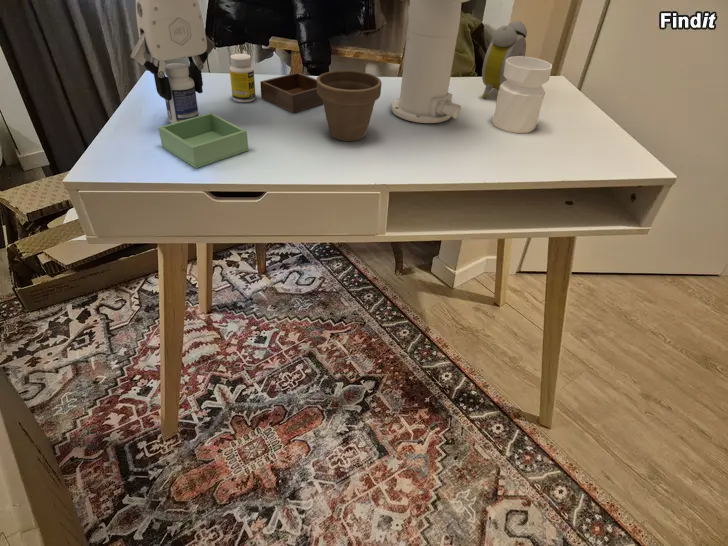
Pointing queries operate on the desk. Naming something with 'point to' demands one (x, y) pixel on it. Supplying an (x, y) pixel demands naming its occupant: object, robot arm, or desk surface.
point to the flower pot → (348, 101)
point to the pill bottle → (180, 93)
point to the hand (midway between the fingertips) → (181, 93)
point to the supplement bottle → (242, 78)
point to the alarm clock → (502, 53)
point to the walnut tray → (291, 92)
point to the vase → (521, 94)
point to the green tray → (203, 139)
